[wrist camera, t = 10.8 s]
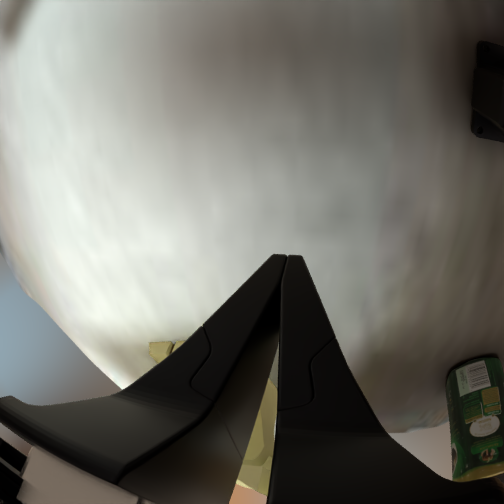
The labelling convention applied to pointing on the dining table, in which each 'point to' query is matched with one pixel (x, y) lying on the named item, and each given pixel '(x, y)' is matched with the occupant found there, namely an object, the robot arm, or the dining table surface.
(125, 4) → the dining table surface
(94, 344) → the dining table surface
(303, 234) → the dining table surface
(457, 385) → the coffee jar
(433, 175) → the dining table surface
